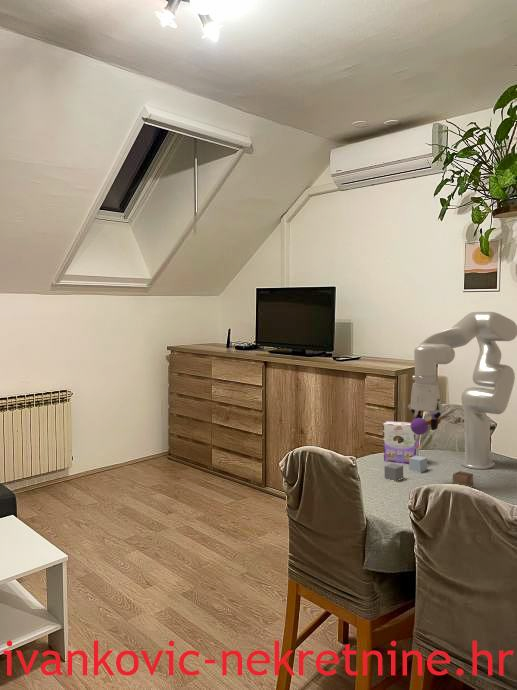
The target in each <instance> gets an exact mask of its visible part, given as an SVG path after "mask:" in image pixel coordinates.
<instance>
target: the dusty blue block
mask: <svg viewBox="0 0 517 690" xmlns="http://www.w3.org/2000/svg"><path fill="white" fill-rule="evenodd" d="M408 467H409V469H408V470H409V471H410V470H413V471H412V472H415V471H417V472H416V473H419V472H421V473H424V472H426V471H428V457H424V456H421V455H419V456H414V457H411V458H409V463H408ZM425 470H426V471H425Z"/></svg>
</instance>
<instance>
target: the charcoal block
mask: <svg viewBox="0 0 517 690" xmlns="http://www.w3.org/2000/svg"><path fill="white" fill-rule="evenodd" d="M385 478H386V479H385ZM401 478H403V479H404V465H400V464H397V463H394V462H391V463H389V464H387V465H385V466H384V479H385V480H387V479H390V480H389V481H391V480H394V481H393V482H395V481H396V482H398V481H400V480H399V479H401ZM397 480H398V481H397ZM401 480H402V479H401Z"/></svg>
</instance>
